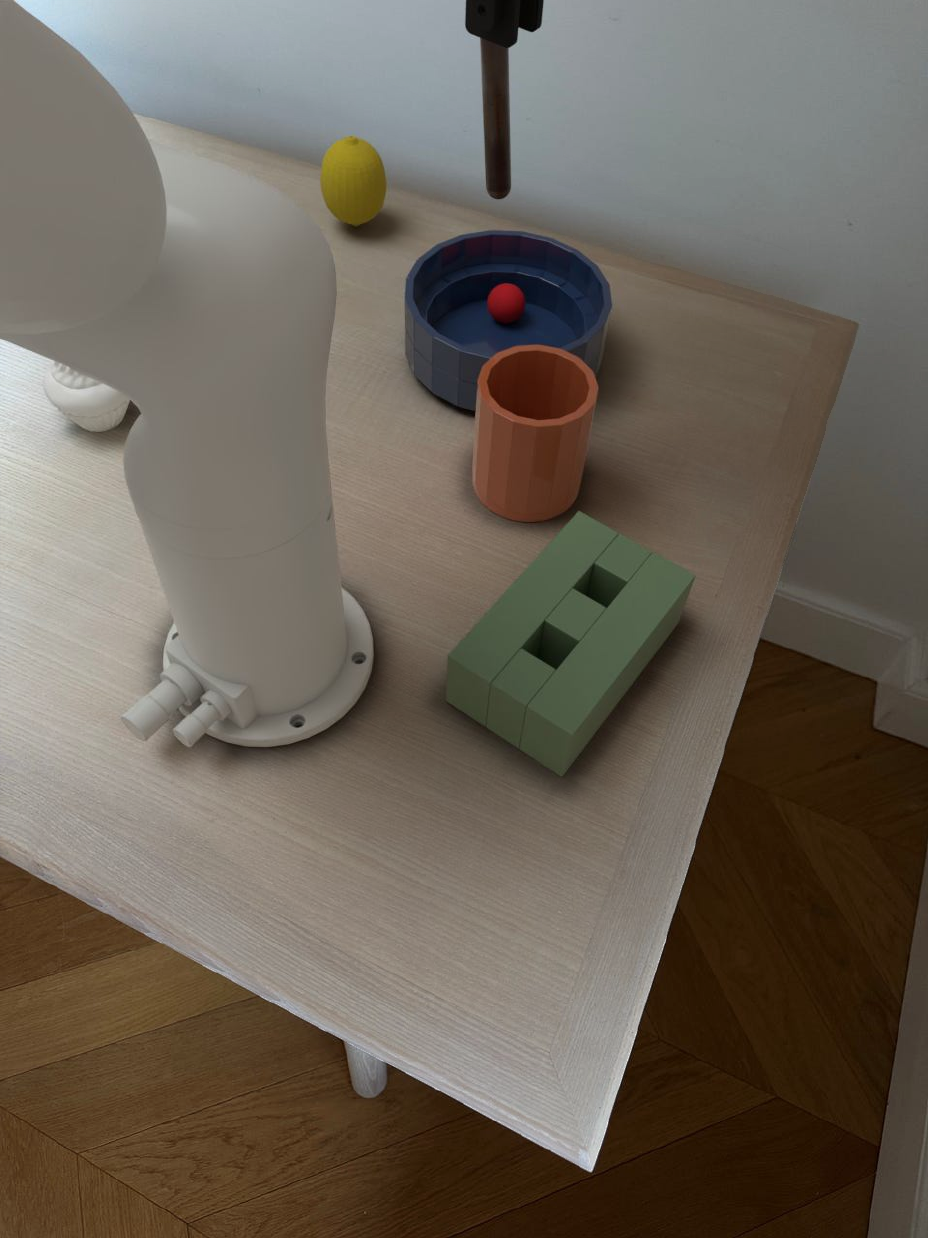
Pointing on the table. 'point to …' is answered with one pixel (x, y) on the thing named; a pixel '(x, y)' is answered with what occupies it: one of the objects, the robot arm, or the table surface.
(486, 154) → the stick
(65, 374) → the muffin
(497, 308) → the berry
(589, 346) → the bowl
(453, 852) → the table surface
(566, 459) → the crock
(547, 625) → the holder
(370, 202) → the lemon
